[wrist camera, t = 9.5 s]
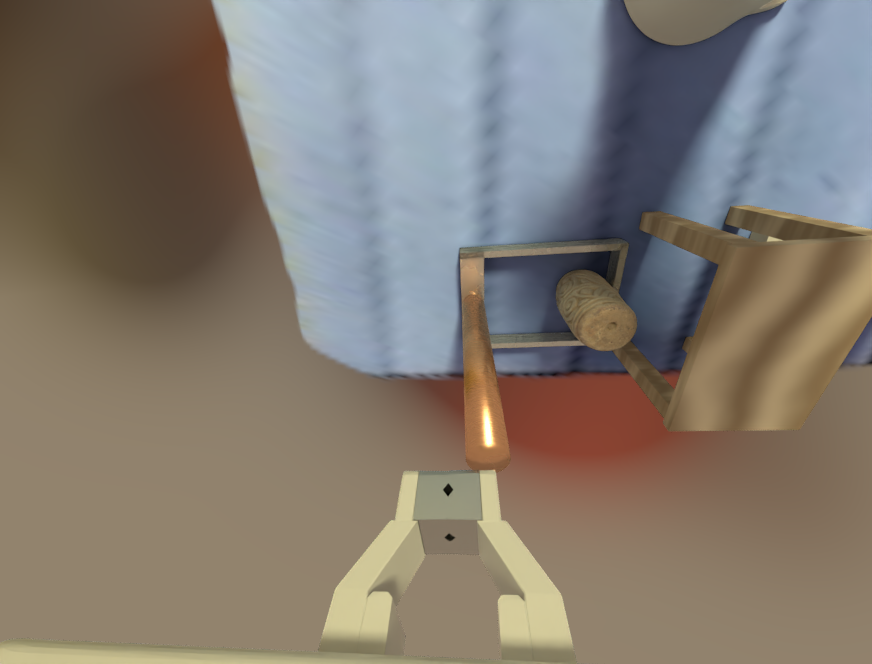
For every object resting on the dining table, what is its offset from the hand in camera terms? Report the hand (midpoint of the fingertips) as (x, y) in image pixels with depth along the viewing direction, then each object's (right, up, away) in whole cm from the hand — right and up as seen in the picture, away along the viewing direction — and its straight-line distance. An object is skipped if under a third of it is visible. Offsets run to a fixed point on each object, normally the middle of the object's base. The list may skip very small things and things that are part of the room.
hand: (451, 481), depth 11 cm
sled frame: (+13, +10, +35) cm, 38 cm away
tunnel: (+31, +11, +33) cm, 47 cm away
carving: (+19, +11, +34) cm, 41 cm away
